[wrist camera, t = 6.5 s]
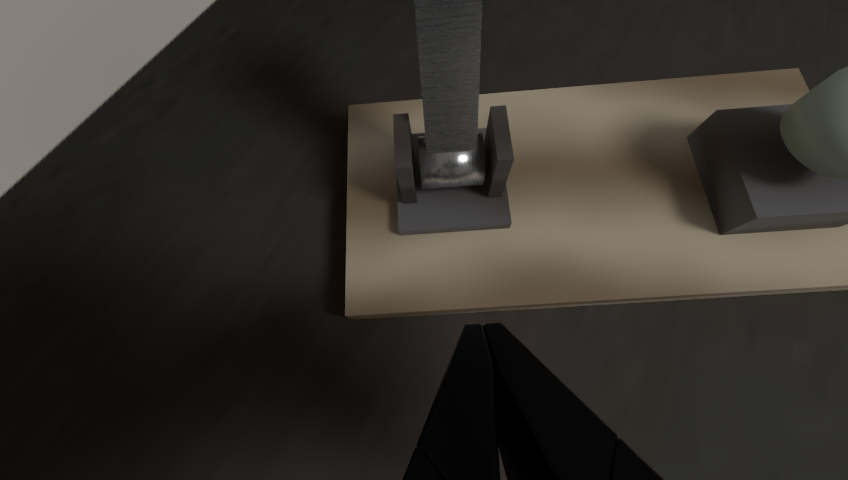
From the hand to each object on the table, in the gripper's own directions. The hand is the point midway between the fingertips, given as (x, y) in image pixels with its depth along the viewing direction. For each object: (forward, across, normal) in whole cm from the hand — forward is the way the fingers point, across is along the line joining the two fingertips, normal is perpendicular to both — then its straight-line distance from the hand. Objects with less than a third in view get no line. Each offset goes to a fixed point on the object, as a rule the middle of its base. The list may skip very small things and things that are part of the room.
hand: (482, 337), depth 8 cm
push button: (+7, -14, -2) cm, 16 cm away
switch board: (+11, -6, +1) cm, 13 cm away
